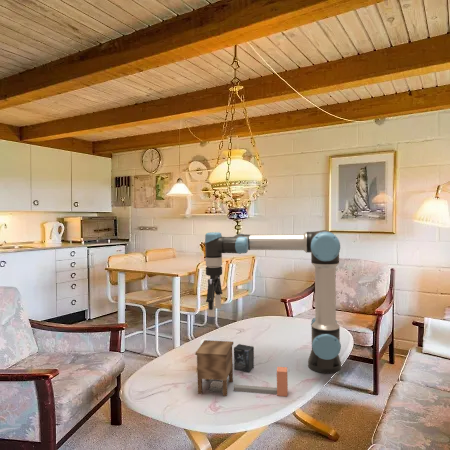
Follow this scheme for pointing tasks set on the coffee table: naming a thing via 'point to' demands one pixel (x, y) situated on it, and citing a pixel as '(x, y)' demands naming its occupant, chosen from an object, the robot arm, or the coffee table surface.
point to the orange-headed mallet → (280, 390)
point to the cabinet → (214, 363)
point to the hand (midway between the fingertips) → (214, 312)
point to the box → (244, 358)
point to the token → (216, 386)
